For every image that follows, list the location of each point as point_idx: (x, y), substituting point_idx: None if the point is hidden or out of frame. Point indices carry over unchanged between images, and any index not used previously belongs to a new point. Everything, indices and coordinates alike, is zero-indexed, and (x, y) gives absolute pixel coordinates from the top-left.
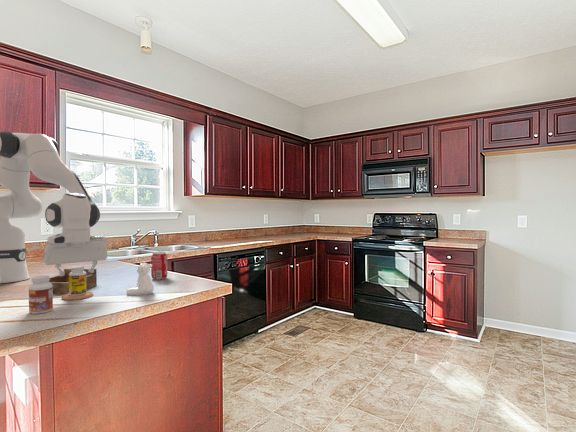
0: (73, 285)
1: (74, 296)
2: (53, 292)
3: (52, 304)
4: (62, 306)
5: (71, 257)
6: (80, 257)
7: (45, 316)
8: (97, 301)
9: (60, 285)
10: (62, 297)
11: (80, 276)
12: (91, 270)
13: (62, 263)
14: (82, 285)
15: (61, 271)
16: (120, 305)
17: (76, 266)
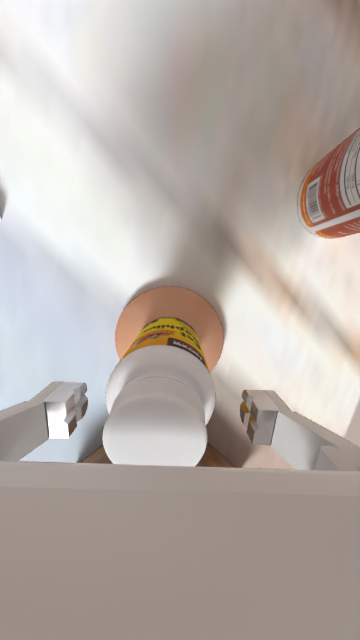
0: (193, 336)
1: (187, 318)
2: (214, 450)
3: (318, 168)
4: (254, 220)
5: (285, 604)
6: (85, 567)
7: (353, 91)
8: (132, 196)
9: (201, 459)
10: (223, 336)
11: (157, 341)
12: (61, 390)
13: (348, 473)
14: (153, 327)
15: (282, 412)
16: (65, 5)
17: None
